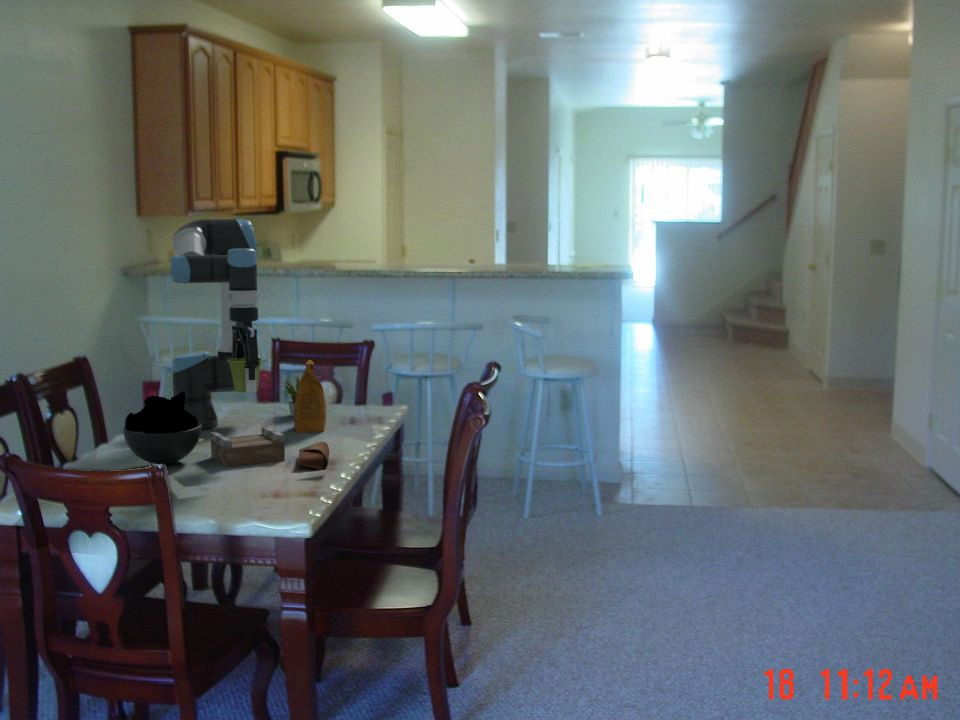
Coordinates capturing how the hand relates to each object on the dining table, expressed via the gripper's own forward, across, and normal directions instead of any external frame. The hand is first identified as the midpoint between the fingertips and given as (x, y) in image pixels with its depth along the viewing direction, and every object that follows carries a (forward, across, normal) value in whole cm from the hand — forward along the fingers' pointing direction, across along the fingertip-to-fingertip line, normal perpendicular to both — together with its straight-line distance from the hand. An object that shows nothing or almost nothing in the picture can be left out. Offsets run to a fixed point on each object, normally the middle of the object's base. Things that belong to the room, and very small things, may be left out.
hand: (245, 389), depth 275 cm
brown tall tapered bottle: (+19, -28, +29) cm, 45 cm away
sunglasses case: (+20, +13, +12) cm, 26 cm away
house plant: (+19, -47, +34) cm, 61 cm away
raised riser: (+19, 0, 0) cm, 19 cm away
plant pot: (0, 0, 0) cm, 0 cm away
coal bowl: (+19, -6, -21) cm, 29 cm away
